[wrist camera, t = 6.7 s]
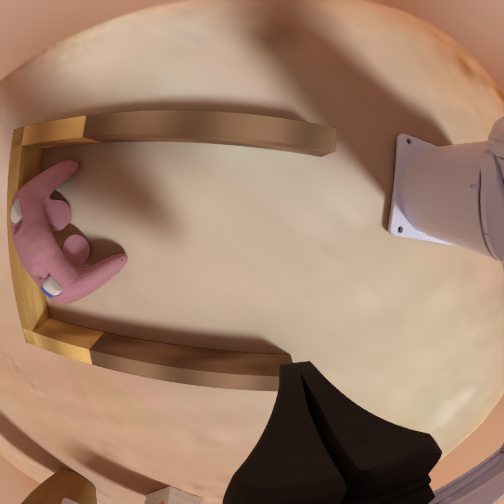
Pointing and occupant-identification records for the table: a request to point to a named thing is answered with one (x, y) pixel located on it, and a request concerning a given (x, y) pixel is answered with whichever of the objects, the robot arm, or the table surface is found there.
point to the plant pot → (63, 489)
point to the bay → (131, 349)
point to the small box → (172, 497)
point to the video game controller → (45, 245)
